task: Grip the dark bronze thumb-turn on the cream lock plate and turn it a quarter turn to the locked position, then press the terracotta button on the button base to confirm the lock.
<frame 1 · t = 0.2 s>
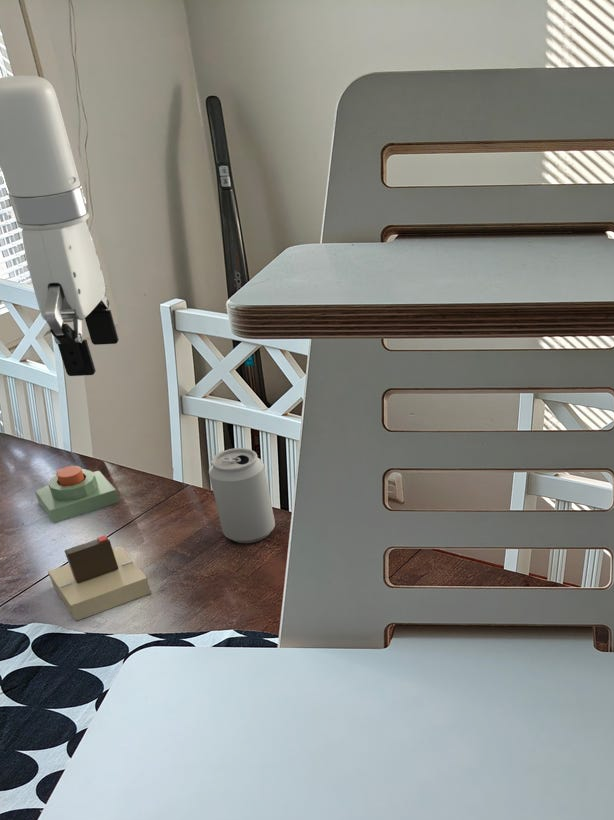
hand: (94, 358, 117), 29 cm above the table, tool pointing down, fingers open, 9 cm apart
thumbturn: (91, 559, 127), point 5 cm above the table, hinge at 0.0°
can: (250, 533, 141), on the table
button base: (79, 502, 150), on the table
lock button: (70, 476, 147), point 4 cm above the table, slide at 0.1 cm
lock plate: (102, 590, 130), on the table
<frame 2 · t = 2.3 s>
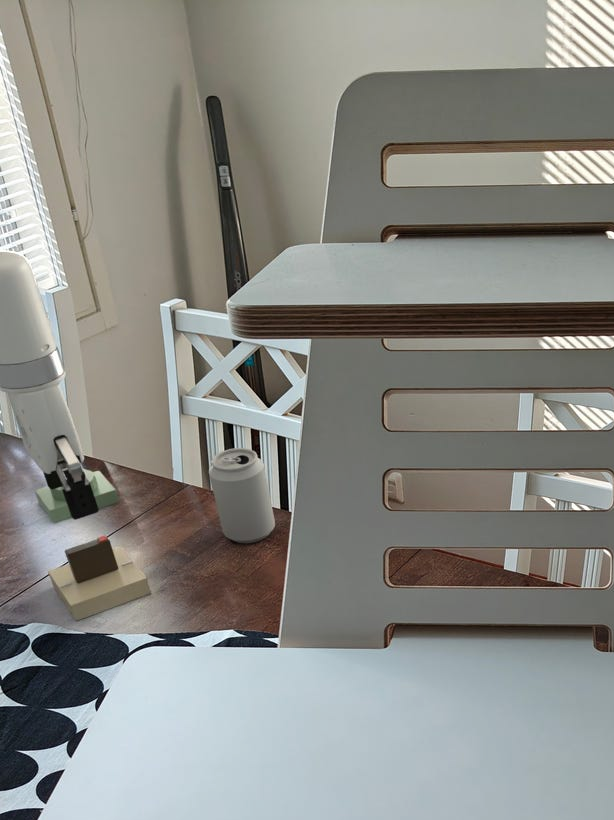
hand: (73, 499, 122), 14 cm above the table, tool pointing down, fingers open, 9 cm apart
nothing on the table moved.
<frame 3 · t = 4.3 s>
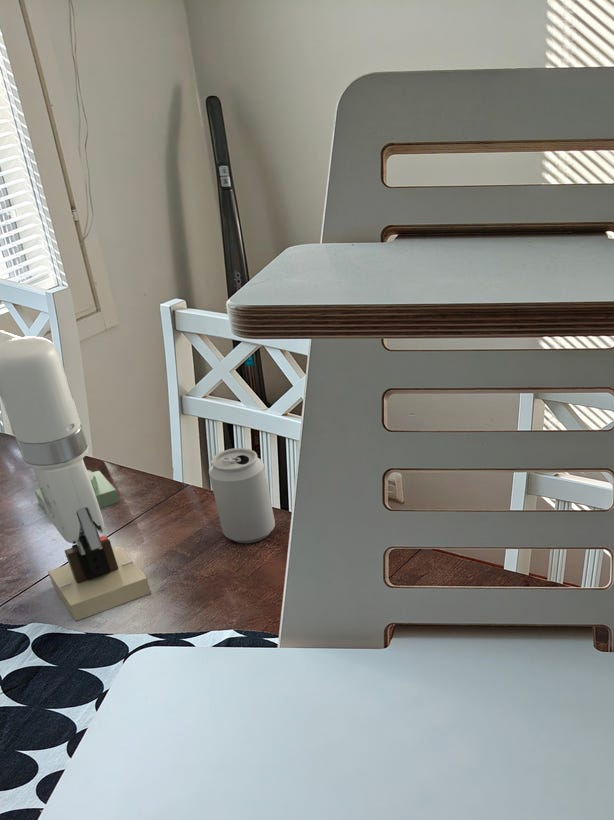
hand: (95, 571, 129), 3 cm above the table, tool pointing down, fingers closed
thumbturn: (91, 559, 127), point 5 cm above the table, hinge at 0.0°, touching gripper
everything else where it was.
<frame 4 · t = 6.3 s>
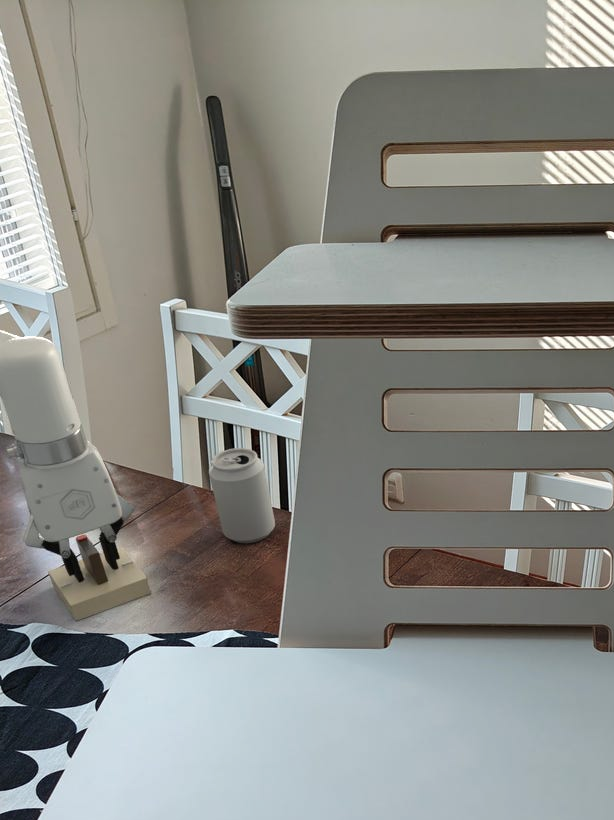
hand: (95, 570, 128), 3 cm above the table, tool pointing down, fingers open, 3 cm apart
thumbturn: (91, 559, 127), point 5 cm above the table, hinge at 89.8°
everything else where it was.
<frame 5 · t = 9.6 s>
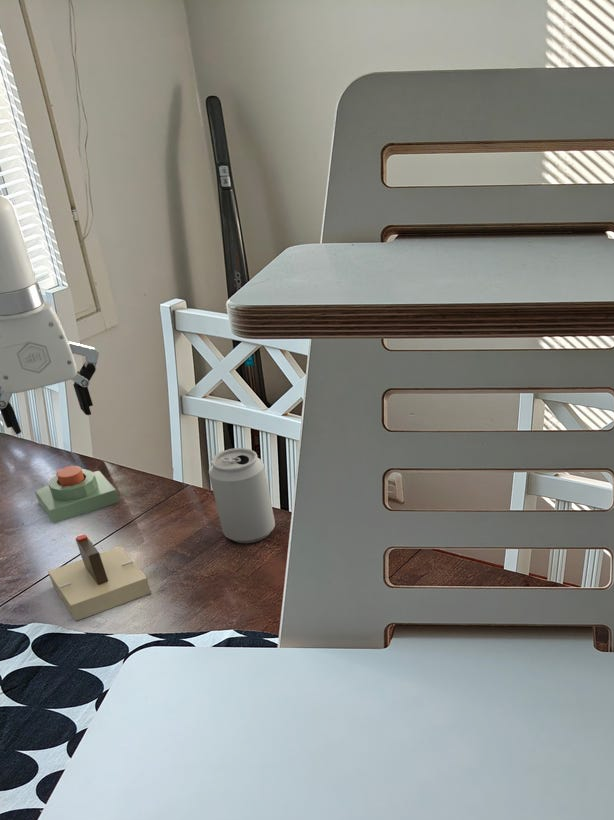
hand: (51, 421, 138), 15 cm above the table, tool pointing down, fingers open, 9 cm apart
nothing on the table moved.
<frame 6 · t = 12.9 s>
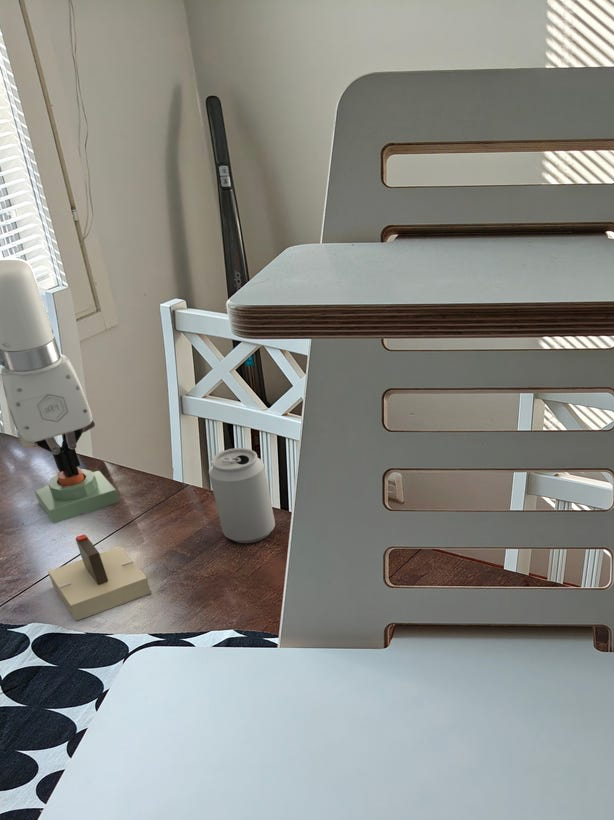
hand: (70, 472, 147), 5 cm above the table, tool pointing down, fingers closed
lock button: (71, 478, 147), point 4 cm above the table, slide at -0.2 cm, touching gripper
everything else where it was.
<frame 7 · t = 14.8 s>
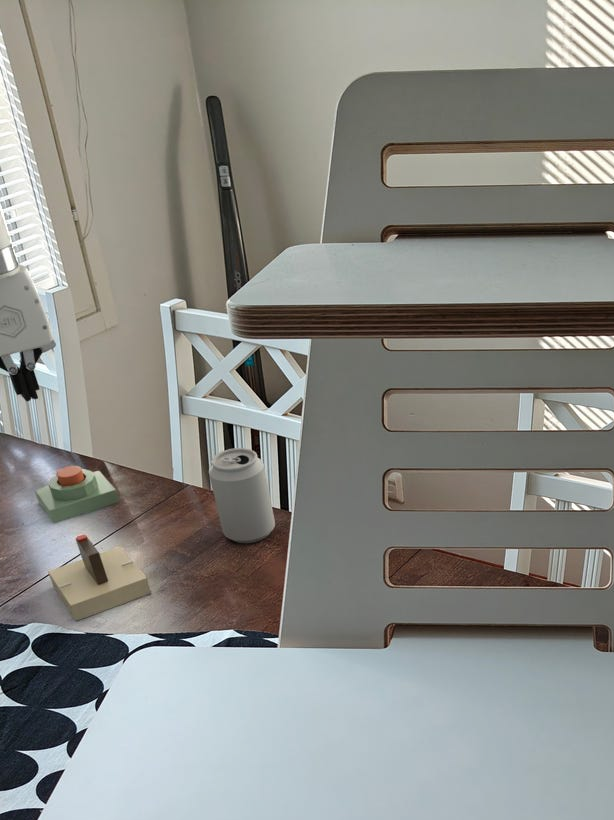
hand: (29, 396, 136), 18 cm above the table, tool pointing down, fingers closed
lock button: (70, 476, 147), point 4 cm above the table, slide at 0.1 cm
everything else where it was.
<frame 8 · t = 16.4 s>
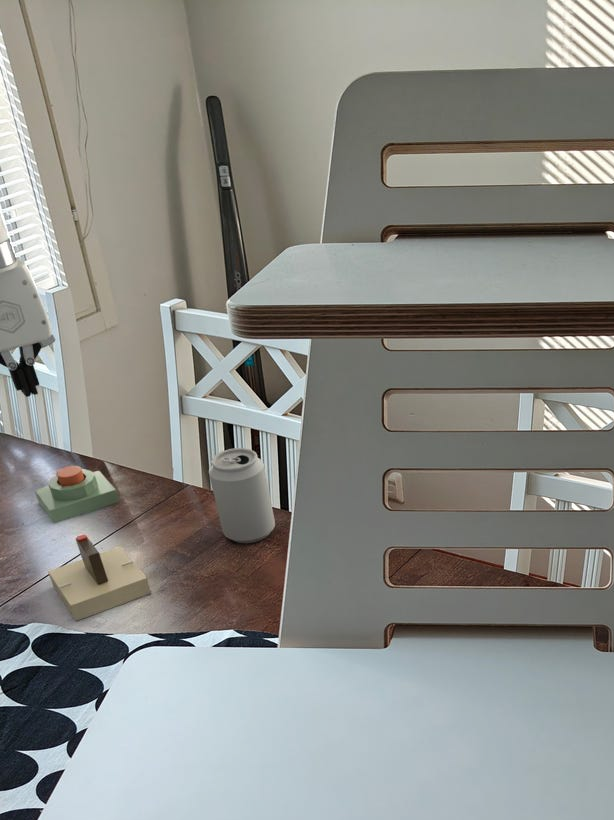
hand: (29, 392, 136), 19 cm above the table, tool pointing down, fingers closed
nothing on the table moved.
at the end: thumbturn at +90° (first picture: +0°); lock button pushed in 1.1 cm at the most during the clip, back to where it started at the end; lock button slide at 0.1 cm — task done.
